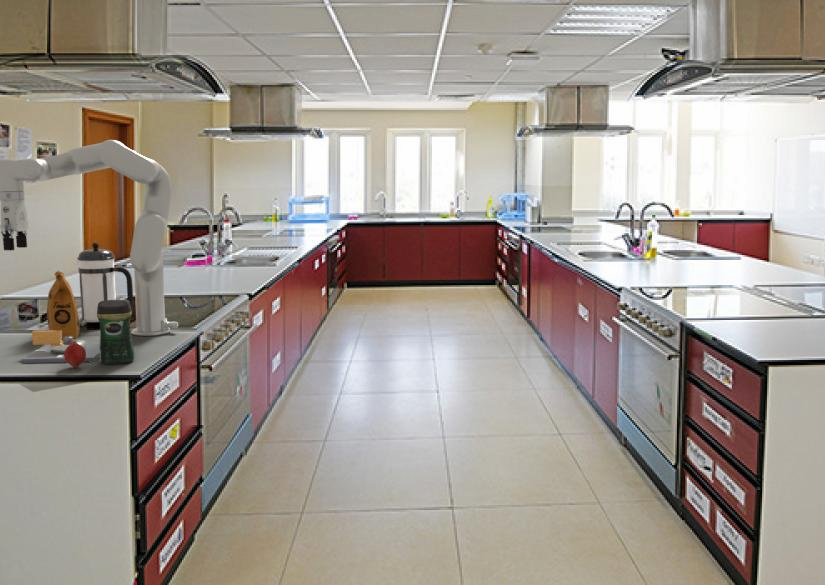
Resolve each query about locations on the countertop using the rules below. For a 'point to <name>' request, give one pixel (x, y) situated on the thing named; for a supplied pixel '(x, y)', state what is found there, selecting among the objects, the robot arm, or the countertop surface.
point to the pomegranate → (75, 354)
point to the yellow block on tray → (54, 340)
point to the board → (47, 356)
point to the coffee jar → (115, 332)
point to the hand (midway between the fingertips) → (15, 248)
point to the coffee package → (62, 308)
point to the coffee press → (98, 280)
